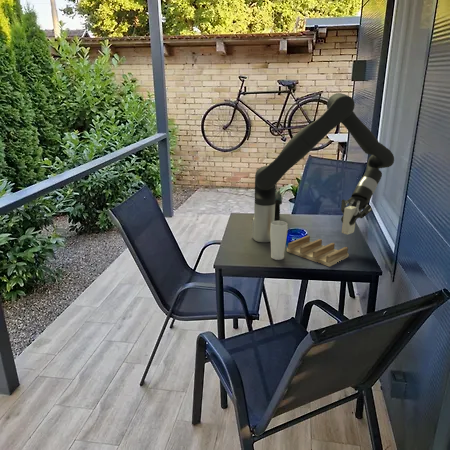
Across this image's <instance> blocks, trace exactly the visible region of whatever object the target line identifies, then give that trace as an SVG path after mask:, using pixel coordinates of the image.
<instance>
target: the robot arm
mask: <svg viewBox="0 0 450 450" xmlns="http://www.w3.org/2000/svg"><path fill="white" fill-rule="evenodd" d="M355 105H356V104H355V100H354V98H353V97H351V96H349V95H347V94H344V93H340V92H337V93H334V94H333V93H332V95H330V96H329V98H328V100H327V102H326V107H327V108H326V109H327V110H326V111H325V112H324V113H323V114H322V115H321V116H320V117H318V118H317V119H316V120H315V121H312V122H311V123H309V124H308V125H305V126H304V127H303V128H301V129H300V130H299V131H297V132H296V133H295V134H294V135H293V136H292V138H290V140H289V141H288V142H287V143H286V144H285V146H284V147H283V148H282V150H280V153H279V154H278V155H277V157H275V159H274V160H273V161H272V162H270V163H269V164H268V165H264V166H261V167H259V168H258V169H257V171H255V175H254V207H253V208H254V209H253V210H254V211H253V215H254V216H253V218H252V219H251V220H252V222H251V223H252V224H251V239H253V241H255V242H258V243H271V239H270V227H271V222H272V221H274V219H275V188H276V184H278V183H279V181H280V180H281V179H282V178H283V176H284V175H286V173H287V172H288V171H289V170H290V169H291V168H293V167H294V166H295V165H296V164H298V163H299V162H301V160H302V159H303V158H304V157H305V156H306V155H308V154H309V153H310V152H311V151H312V150H313V149H314V148H315V147H316V146H317V145H318V144H319V143H320V142H321V141H322V140H323V139H324V138H325V137H326V136H327V135H328V134H329V133H330V132H331V131H332V130H333V129H335V128H336V127H337V126H338V125H340V124H342V125H343V126H344V127H345V129H346V130H347V131H348V132H349V133H350V135H351V136H352V138H353V139H354V140H355V142H356V143H357V144H358V146H359V147H360V149H362V151H363V152H364V154H366V155H370V156H369V157H368V160H367V163H366V169H365V172H364V173H363V175H362V177H361V179H360V180H359V182H358V183H357V185H356V187H355V189H354V190H353V192H352V194H351V197H349V198H348V199H347V200H345V199H341V204H340V205H341V209H340V210H341V212H342V214H343V215H342V217H341V219H340V220H341V223H342V224H343V217H344V209H345V208H346V207H348V206H354V207H357V208H356V210H355V213H354V216H353V217H352V218H351V220H350V222H349V224H350V225H353V224H354V223H355V224H356V221H357V219H364V218H365V216H367V215H368V214H369V213H371V212H372V210H373V208H372V206H371V205H369V202H370V200H371V198H372V197H373V196H374V194H375V192H376V189H377V186H378V184H379V182H380V181H381V179H382V175H383V173H382V171H381V170H380V169H384V168H385V169H386V168H390V167H392V166H393V165H394V163H395V156H394V154H393V152H392V151H391V150H390V149H389V148H387V147H386V146H385V145H384V144H383V143H381V142H380V141H379V140H378V139H377V137H376V136H375V135H374V134H373V132H372V130H370V129H369V127H367V126H366V125H365V124H364V122H363V121H361V119H360V118H359V117H358V116H357V115H356V114H355V112H354V109H355Z"/></svg>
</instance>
